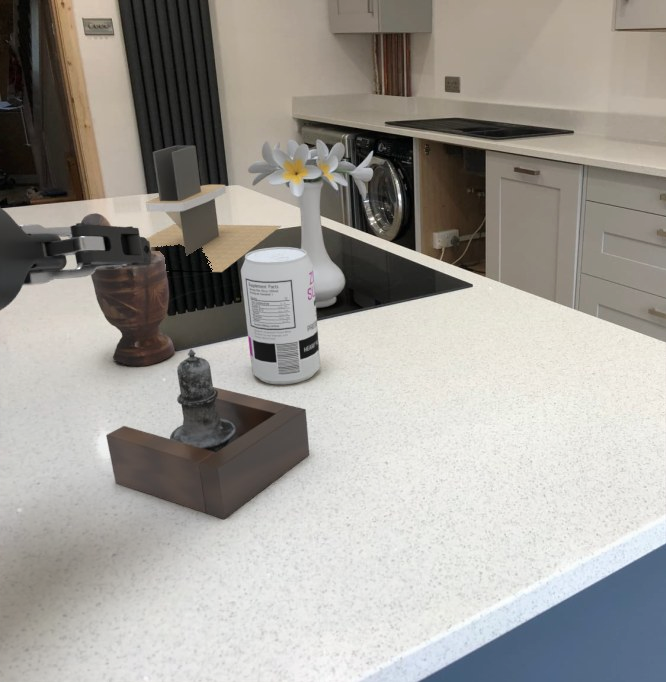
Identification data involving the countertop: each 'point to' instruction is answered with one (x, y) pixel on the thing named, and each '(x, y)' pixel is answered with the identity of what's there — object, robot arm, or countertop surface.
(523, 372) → the countertop surface
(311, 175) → the flower vase
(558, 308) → the countertop surface
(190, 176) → the architectural model
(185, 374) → the salt shaker
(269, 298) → the supplement can
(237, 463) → the stand
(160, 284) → the mortar and pestle
